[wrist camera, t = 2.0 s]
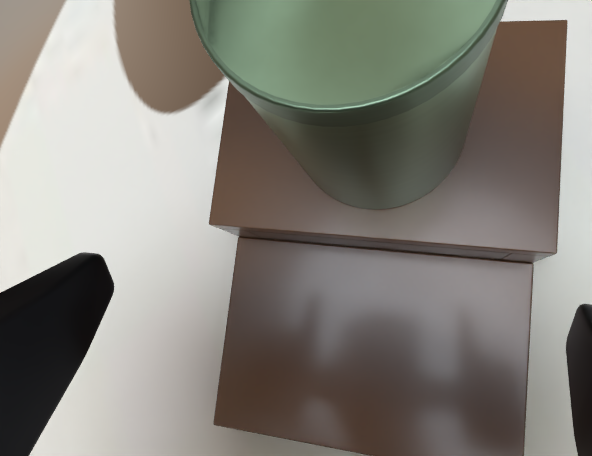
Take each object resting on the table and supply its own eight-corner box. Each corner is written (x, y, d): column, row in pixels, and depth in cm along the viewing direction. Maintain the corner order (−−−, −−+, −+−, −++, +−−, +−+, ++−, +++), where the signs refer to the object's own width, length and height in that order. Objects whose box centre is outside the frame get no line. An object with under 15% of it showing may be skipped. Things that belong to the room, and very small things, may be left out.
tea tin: (442, 230, 17) (470, 144, 8) (275, 188, 18) (147, 80, 10) (487, 61, 17) (559, -191, 8) (321, 36, 19) (239, -197, 10)
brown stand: (513, 469, 19) (544, 522, 14) (228, 416, 22) (176, 445, 17) (533, 84, 21) (567, 19, 17) (271, 82, 24) (236, 27, 20)
